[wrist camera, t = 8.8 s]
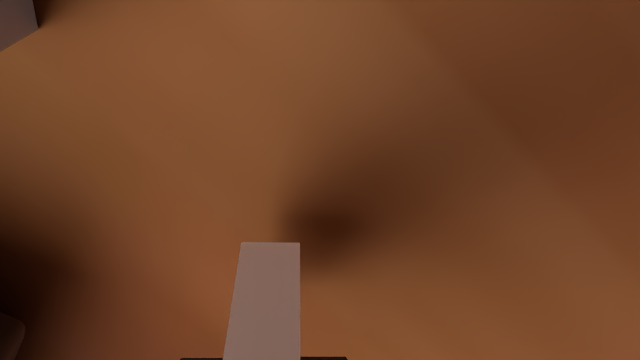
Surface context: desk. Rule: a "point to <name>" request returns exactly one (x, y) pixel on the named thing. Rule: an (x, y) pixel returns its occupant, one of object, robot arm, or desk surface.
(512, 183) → the desk surface
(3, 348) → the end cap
